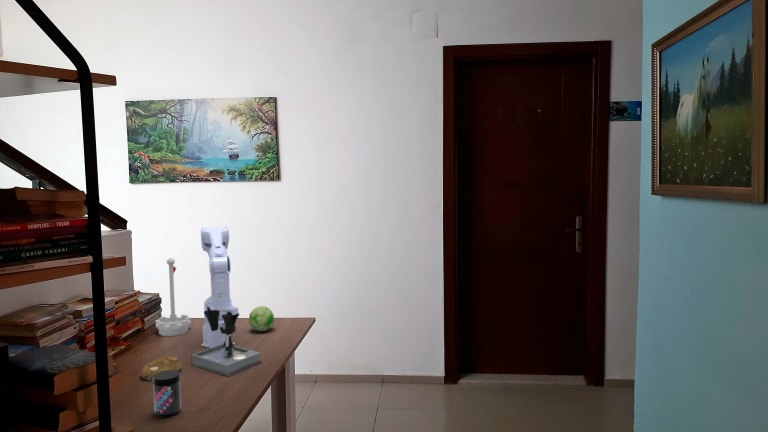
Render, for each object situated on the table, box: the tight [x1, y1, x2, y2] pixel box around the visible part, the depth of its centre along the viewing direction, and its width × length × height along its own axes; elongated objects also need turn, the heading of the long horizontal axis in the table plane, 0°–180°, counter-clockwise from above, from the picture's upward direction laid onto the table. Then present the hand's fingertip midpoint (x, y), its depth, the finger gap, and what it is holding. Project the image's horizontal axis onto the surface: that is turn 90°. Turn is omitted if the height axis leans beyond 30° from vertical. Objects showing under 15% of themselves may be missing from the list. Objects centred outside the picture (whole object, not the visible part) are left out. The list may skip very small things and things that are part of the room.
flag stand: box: [155, 257, 192, 337], centre depth 210 cm, size 13×13×30 cm
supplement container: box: [152, 370, 182, 418], centre depth 141 cm, size 7×7×10 cm
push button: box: [220, 324, 237, 356], centre depth 178 cm, size 7×5×10 cm
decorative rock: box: [140, 356, 183, 383], centre depth 169 cm, size 11×4×15 cm
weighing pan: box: [200, 347, 245, 362], centre depth 177 cm, size 12×12×1 cm
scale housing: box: [190, 344, 262, 377], centre depth 176 cm, size 18×14×4 cm
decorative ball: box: [248, 305, 275, 332], centre depth 211 cm, size 10×10×10 cm
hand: (222, 332), depth 176 cm, fingers open, 7 cm apart
